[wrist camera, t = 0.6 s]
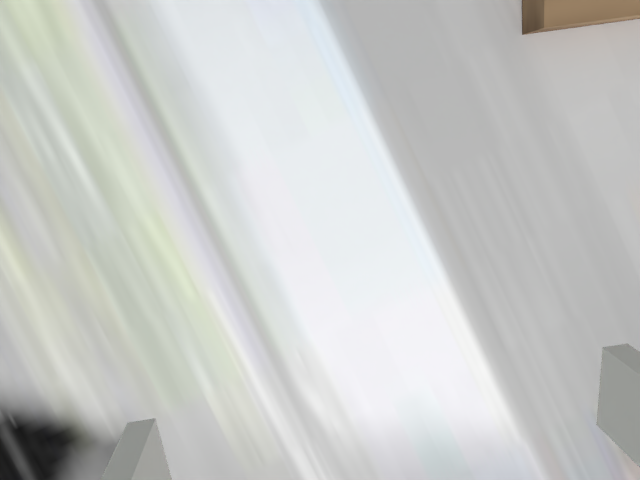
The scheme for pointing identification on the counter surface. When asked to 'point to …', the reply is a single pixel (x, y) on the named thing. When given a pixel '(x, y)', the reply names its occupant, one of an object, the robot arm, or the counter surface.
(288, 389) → the counter surface
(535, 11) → the brown flat tray
